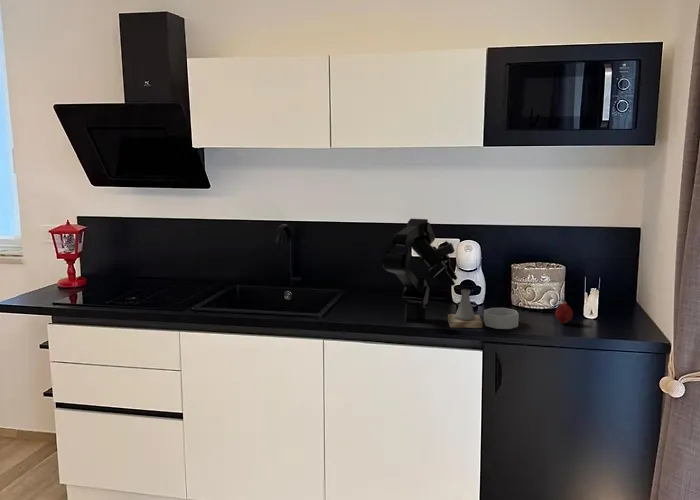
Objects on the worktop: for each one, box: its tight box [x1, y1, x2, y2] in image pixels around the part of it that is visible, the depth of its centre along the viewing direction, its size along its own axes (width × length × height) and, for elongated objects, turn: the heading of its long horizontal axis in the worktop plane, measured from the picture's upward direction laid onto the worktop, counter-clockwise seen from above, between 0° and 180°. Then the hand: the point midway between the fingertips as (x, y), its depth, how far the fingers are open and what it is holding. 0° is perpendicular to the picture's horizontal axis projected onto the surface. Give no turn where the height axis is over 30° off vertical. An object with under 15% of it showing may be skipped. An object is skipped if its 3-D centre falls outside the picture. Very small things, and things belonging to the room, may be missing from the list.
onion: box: [554, 301, 574, 325], centre depth 223 cm, size 6×6×8 cm
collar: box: [483, 307, 520, 330], centre depth 223 cm, size 11×11×4 cm
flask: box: [455, 288, 476, 320], centre depth 223 cm, size 7×7×10 cm
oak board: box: [447, 313, 484, 329], centre depth 224 cm, size 11×10×2 cm
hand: (455, 281), depth 228 cm, fingers open, 9 cm apart
